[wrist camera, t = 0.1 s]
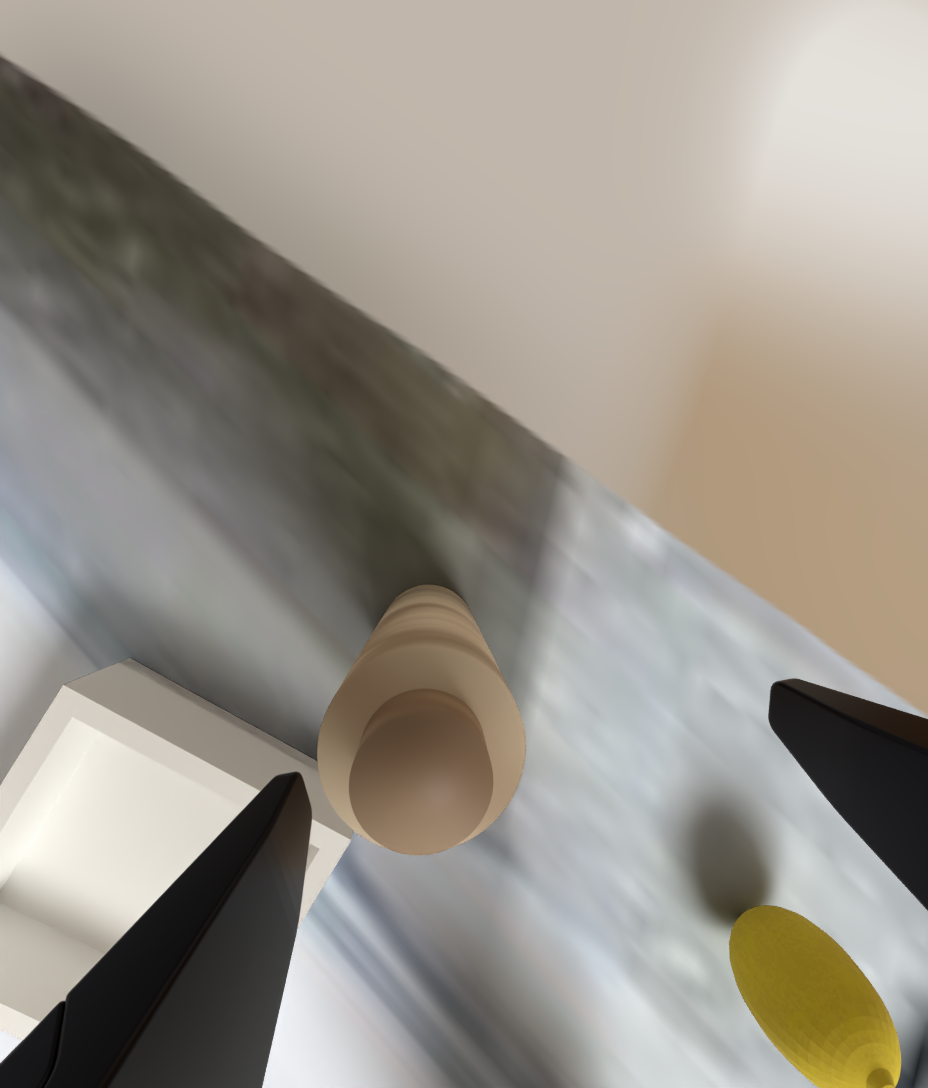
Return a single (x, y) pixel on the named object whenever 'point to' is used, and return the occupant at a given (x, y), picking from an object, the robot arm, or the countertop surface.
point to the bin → (123, 822)
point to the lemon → (813, 1001)
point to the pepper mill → (422, 730)
